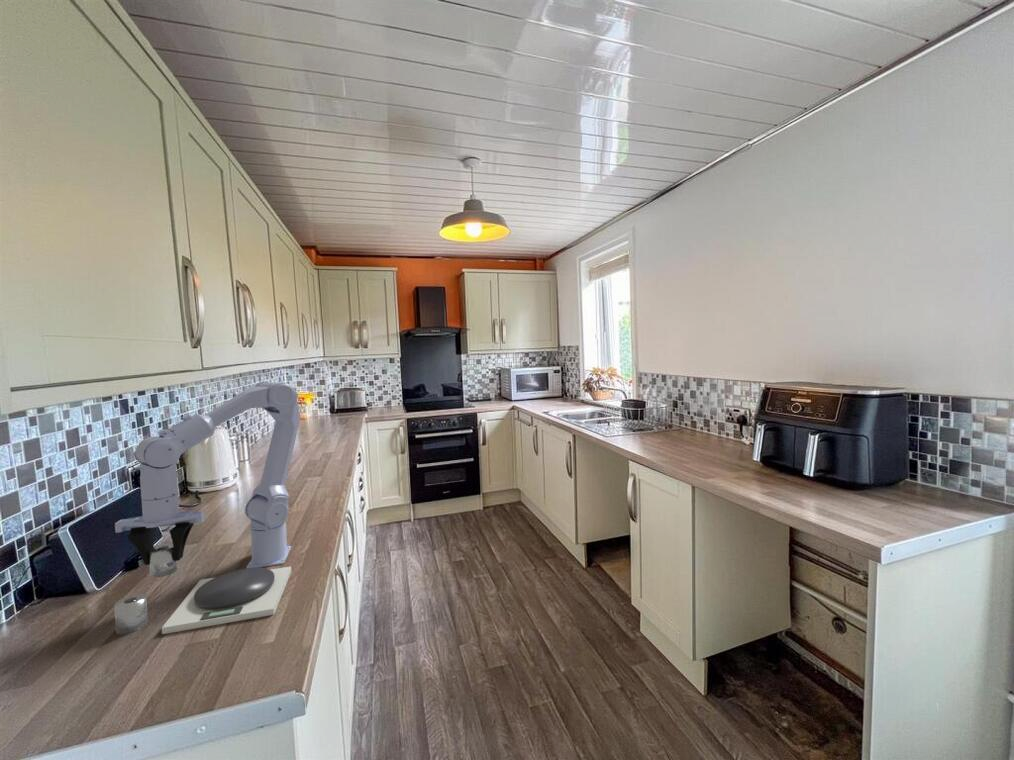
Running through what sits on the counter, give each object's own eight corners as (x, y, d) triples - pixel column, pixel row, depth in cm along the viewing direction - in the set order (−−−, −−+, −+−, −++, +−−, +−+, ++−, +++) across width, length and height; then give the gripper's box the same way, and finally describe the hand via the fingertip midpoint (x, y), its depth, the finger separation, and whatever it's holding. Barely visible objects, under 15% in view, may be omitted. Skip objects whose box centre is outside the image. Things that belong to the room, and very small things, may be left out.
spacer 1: (124, 621, 78) (123, 595, 78) (152, 617, 79) (151, 591, 79) (110, 636, 74) (108, 609, 74) (140, 631, 75) (138, 604, 75)
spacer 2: (157, 568, 86) (156, 544, 86) (181, 565, 87) (181, 541, 87) (145, 578, 82) (144, 553, 81) (171, 575, 83) (170, 551, 83)
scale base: (200, 584, 91) (200, 577, 90) (291, 571, 96) (291, 564, 96) (162, 634, 74) (161, 625, 74) (273, 614, 80) (273, 606, 80)
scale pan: (210, 577, 91) (209, 573, 91) (281, 566, 95) (280, 563, 95) (181, 614, 77) (180, 610, 77) (265, 601, 81) (265, 597, 81)
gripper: (103, 506, 78) (108, 576, 79) (193, 498, 82) (197, 564, 83) (125, 494, 84) (129, 559, 85) (207, 487, 89) (211, 548, 90)
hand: (164, 560), depth 84 cm, fingers closed on spacer 2, 4 cm apart
